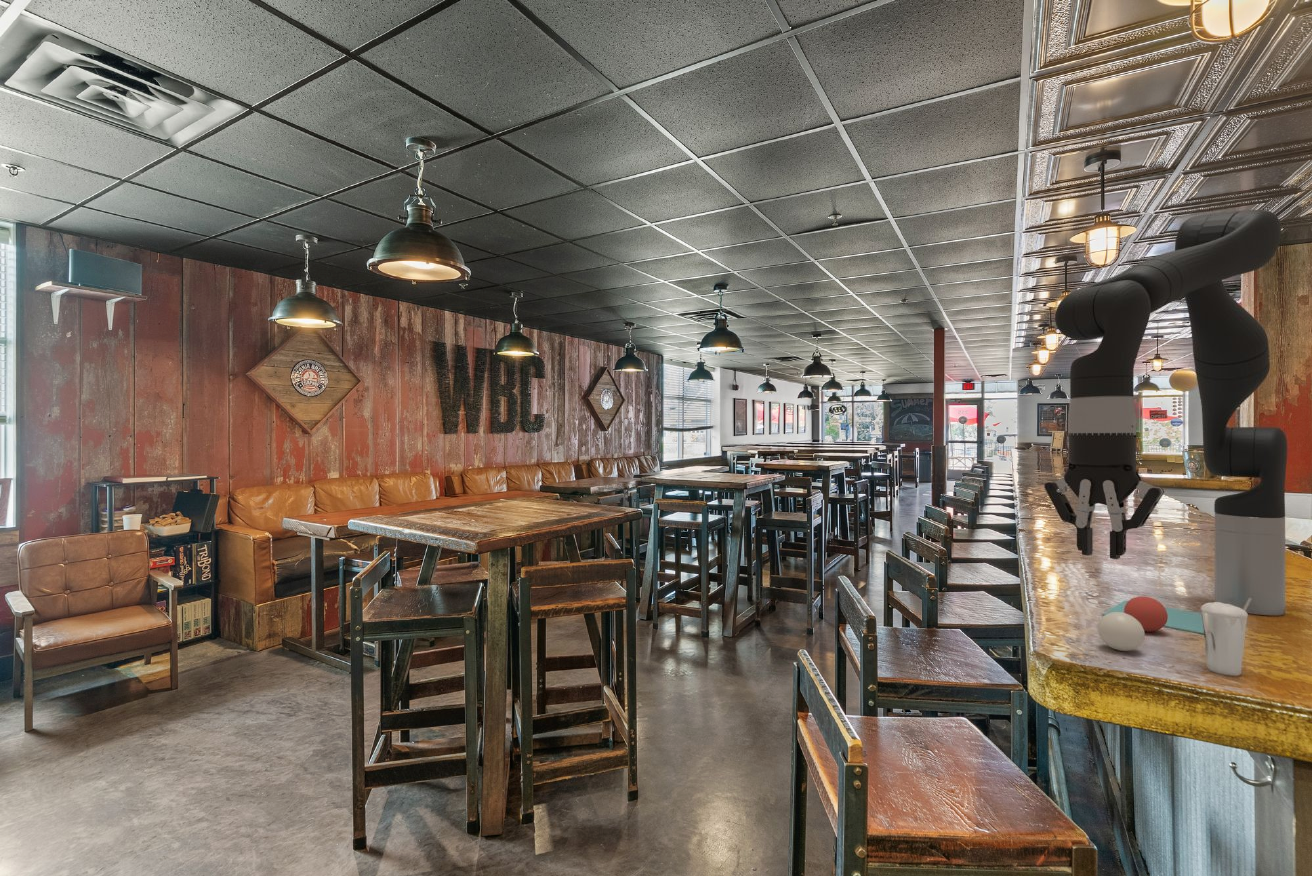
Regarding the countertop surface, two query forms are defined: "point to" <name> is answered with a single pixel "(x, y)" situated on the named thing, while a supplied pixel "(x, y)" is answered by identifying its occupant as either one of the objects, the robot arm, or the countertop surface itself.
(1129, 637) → the ball
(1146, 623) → the ball
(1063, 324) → the robot arm
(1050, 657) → the countertop surface
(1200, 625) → the mark
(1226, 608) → the milkshake
